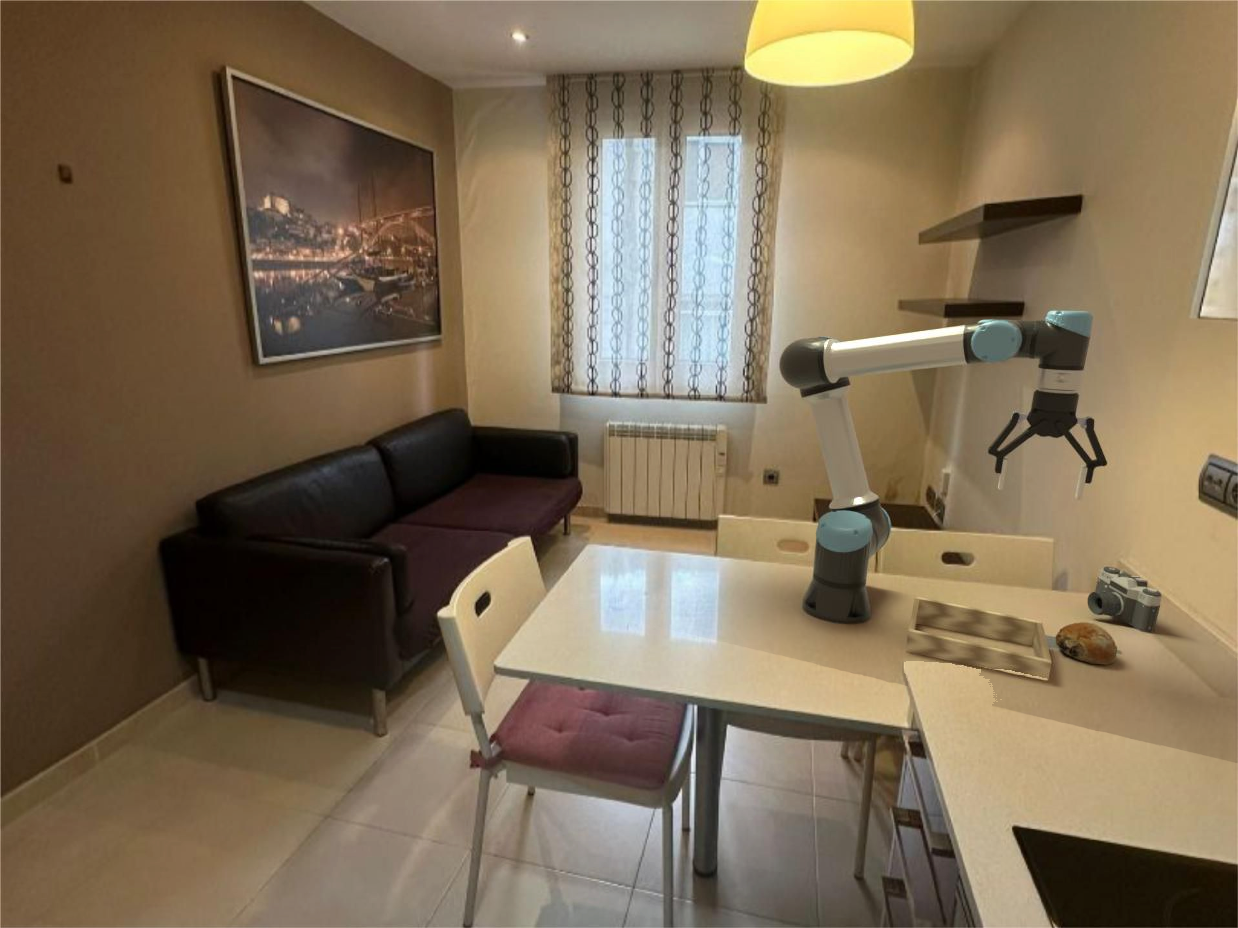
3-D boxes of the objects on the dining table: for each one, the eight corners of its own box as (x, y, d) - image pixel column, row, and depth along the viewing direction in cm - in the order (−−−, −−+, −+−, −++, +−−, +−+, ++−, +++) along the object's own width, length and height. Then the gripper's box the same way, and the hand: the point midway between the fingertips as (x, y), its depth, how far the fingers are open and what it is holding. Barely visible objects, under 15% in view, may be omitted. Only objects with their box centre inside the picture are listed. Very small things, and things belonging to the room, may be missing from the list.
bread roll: (1108, 685, 125) (1139, 656, 122) (1062, 656, 125) (1092, 626, 123) (1084, 658, 134) (1112, 630, 131) (1041, 631, 135) (1069, 603, 132)
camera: (1066, 600, 156) (1074, 562, 153) (1108, 601, 156) (1116, 562, 153) (1114, 632, 141) (1123, 590, 138) (1160, 633, 140) (1170, 591, 138)
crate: (904, 657, 129) (908, 630, 127) (911, 620, 144) (915, 596, 143) (1046, 692, 118) (1051, 662, 116) (1037, 647, 133) (1042, 621, 132)
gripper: (985, 388, 129) (969, 488, 134) (1139, 397, 118) (1116, 507, 123) (984, 384, 136) (969, 480, 141) (1130, 393, 124) (1109, 497, 129)
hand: (1038, 493), depth 132 cm, fingers open, 13 cm apart
